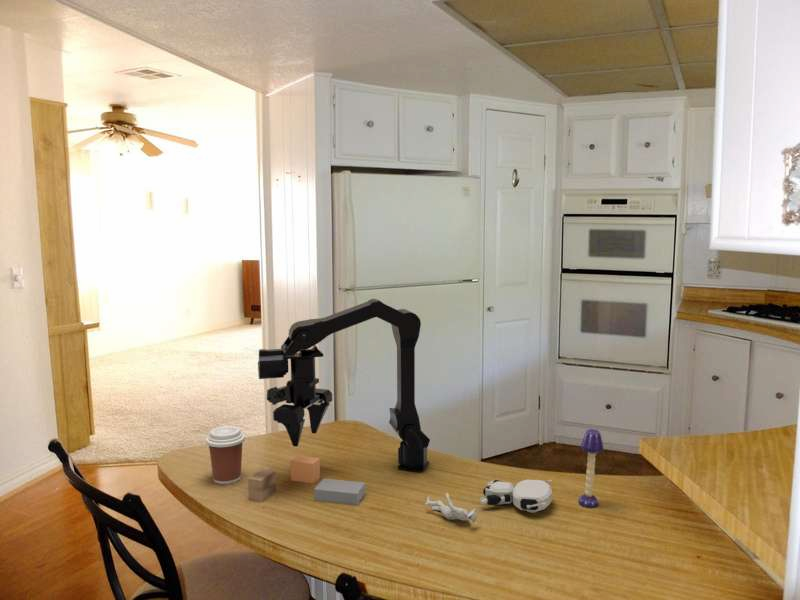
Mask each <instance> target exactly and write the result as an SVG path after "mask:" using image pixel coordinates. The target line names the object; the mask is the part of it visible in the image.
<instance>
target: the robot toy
mask: <svg viewBox="0 0 800 600" xmlns="http://www.w3.org/2000/svg"><path fill="white" fill-rule="evenodd" d="M552 481H553V480H551V479H549V480H548V479H547V480H543V479H542V480H541V479H524V480H520V481H519V482H518V483H516V484H515V485H514V484H513V483H512V482H508V481H507V482H506V481H502V480H499V479H495V480H489V481H488V482H487V485H486V486H485V487H484V488H483V491H482V494H483V495H484V496H485V497H481V498H479V503H480V504H482V505H486V504H487V505H488V506H493V505H494V506H495V505H496V506H499V505H501V506H502V505H510V504H511V503H513V505H514V506H515V507H516V508H517V509H518V510H521V511H526V512H528V513H531V514H534V513H535V514H536V513H537V512H539V511H543V510H545V509H546V508H548V507H549V505H551V503H552V501H553V492H552V491H553V490H552V486H551V485H550V484H549V483H551V482H552Z"/></svg>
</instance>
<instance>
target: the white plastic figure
mask: <svg viewBox="0 0 800 600" xmlns="http://www.w3.org/2000/svg"><path fill="white" fill-rule="evenodd" d="M444 496H445V497H446V502H447V503H448V505H446V504H444V503H443V502H442V501H441V500H436V501H435V500H434V501H433V500H431V497H430V496H429V495H428V496H427V497H426V502H425V504H424V505H425V506H431V511H440V512H441V514H442V515H443V516H444V517H445V518H446V519H447V520H449V521H455V520H458V519H459V520H462V521H464V522H468V521H472V524H475V522H476V521H477V517H478V515H477V513H478V512H477V508H474V509H473V510H472V509H471V510H470V511H469V510H467V509H466V508H463V507H458V506H454V504H453V503H452V501H451V498H450V497H451V496H450V495H449V493H448V492H446V493H445V494H444Z"/></svg>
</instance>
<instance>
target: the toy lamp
mask: <svg viewBox="0 0 800 600" xmlns="http://www.w3.org/2000/svg"><path fill="white" fill-rule="evenodd" d="M602 438H603V437H602V434H601V432H600V431H599V430H598V429H593V428H588V429H587V430H586V431H585V433H584V436H583V438H582V442H581V444H580V447H581V450H583V451H584V452H587V463H586V473H585V474H586V476H585V481H586V482H585V485H584V487H585V490H584V494H582V495H580V496H579V498H578V504H579V505H580V506H582V507H584V508H588V509H593V508H594V509H595V508H598V506H599V505H600V504H599V501H598V498H597V497H596V496H595V495H594V491H593V490H594V481H595V474H596V473H595V468H596V455H597V454H598V453H602V452H603V451H604V443H603V439H602Z"/></svg>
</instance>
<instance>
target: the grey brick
mask: <svg viewBox="0 0 800 600" xmlns="http://www.w3.org/2000/svg"><path fill="white" fill-rule="evenodd" d="M365 495H366V482H363V481H355V480H354V481H351V480H345V479H344V480H343V479H335V478H333V479H332V478H324V477H323V478H322V480H321V481H320V482H319V483H318V484H317V485H316V486H315V488H314V489H313V496H314V497H313V501H317V502H324V503H332V502H334V504H335V503H336V504H341V503H342V504H343V505H350V504H351V506H358V505H359V503H361V501H362V499H363V498H362V497H365ZM360 500H361V501H360Z"/></svg>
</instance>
